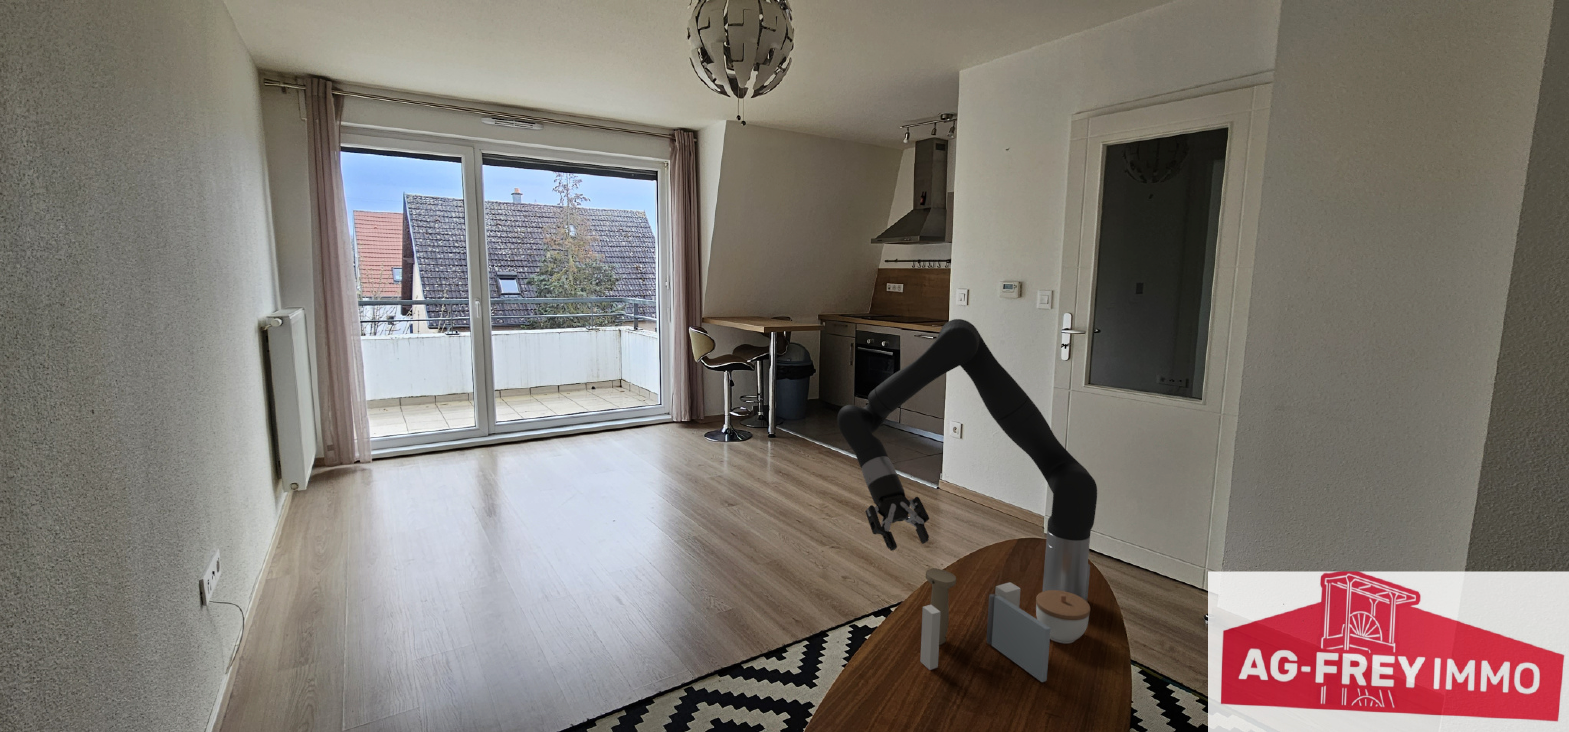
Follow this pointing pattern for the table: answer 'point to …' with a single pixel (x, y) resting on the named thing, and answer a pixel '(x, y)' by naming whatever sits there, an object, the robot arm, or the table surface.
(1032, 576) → the table surface
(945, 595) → the tan tapered grip
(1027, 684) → the table surface
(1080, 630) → the lidded jar
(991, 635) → the door
